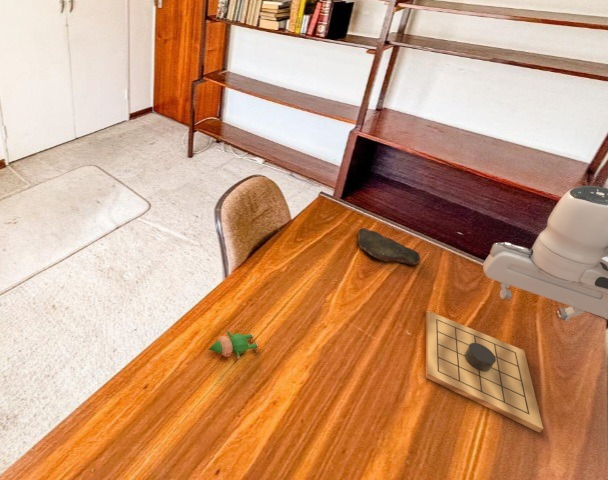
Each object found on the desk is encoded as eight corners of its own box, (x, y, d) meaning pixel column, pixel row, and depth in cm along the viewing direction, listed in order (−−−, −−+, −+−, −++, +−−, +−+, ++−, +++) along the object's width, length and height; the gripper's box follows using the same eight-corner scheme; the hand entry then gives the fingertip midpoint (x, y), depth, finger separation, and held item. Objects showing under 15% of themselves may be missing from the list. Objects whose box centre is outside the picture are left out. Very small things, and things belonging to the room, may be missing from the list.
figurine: (259, 360, 93) (211, 369, 90) (247, 332, 99) (201, 341, 96) (263, 347, 91) (214, 357, 88) (250, 321, 97) (204, 329, 94)
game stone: (489, 358, 93) (494, 350, 92) (491, 376, 89) (497, 367, 88) (463, 346, 96) (468, 338, 94) (465, 363, 92) (470, 355, 90)
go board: (521, 354, 96) (524, 350, 95) (539, 433, 81) (543, 428, 80) (425, 314, 105) (427, 310, 105) (425, 377, 90) (428, 373, 89)
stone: (419, 258, 124) (422, 251, 123) (412, 279, 116) (415, 271, 115) (359, 232, 134) (361, 225, 133) (349, 250, 126) (351, 243, 125)
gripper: (497, 248, 81) (473, 295, 87) (640, 291, 72) (602, 342, 77) (493, 230, 86) (471, 277, 92) (626, 269, 76) (591, 318, 82)
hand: (531, 307), depth 85 cm, fingers open, 8 cm apart
